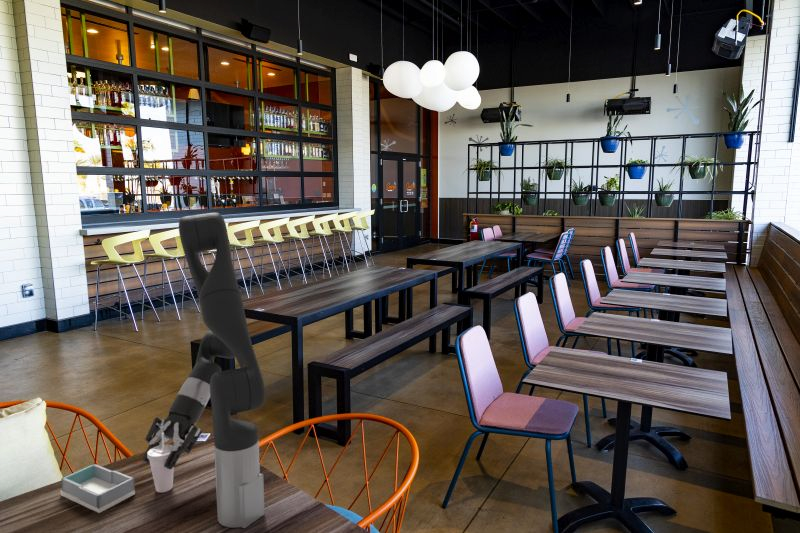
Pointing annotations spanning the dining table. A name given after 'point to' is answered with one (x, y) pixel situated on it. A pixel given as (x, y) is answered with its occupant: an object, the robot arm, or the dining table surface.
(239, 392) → the robot arm
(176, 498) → the dining table surface
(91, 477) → the grey tray
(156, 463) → the smoothie
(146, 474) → the dining table surface
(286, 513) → the dining table surface
